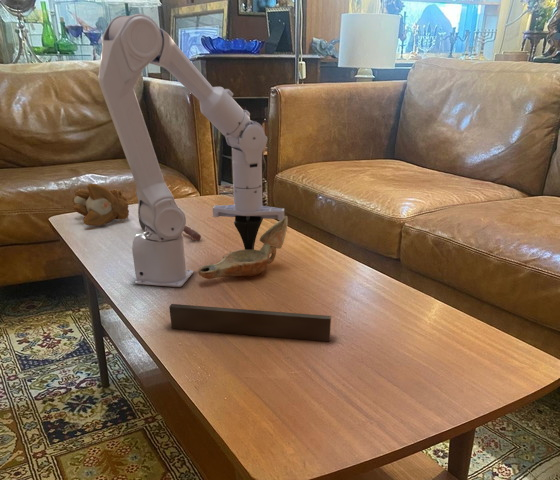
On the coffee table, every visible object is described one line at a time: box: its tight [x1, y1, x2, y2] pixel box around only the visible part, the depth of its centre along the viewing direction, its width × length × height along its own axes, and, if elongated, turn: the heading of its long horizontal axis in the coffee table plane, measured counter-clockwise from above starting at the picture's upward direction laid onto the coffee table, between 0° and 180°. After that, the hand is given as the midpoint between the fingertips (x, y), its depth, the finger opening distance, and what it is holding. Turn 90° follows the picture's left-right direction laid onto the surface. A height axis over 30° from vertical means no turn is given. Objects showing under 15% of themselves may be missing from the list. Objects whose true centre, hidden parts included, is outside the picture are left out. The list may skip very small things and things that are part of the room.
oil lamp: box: [197, 215, 289, 280], centre depth 109 cm, size 9×21×10 cm, turn 127°
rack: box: [168, 303, 332, 343], centre depth 88 cm, size 26×1×4 cm, turn 80°
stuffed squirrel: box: [72, 183, 130, 226], centre depth 143 cm, size 10×14×13 cm
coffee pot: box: [137, 214, 202, 242], centre depth 132 cm, size 8×18×8 cm
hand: (249, 251), depth 116 cm, fingers closed
